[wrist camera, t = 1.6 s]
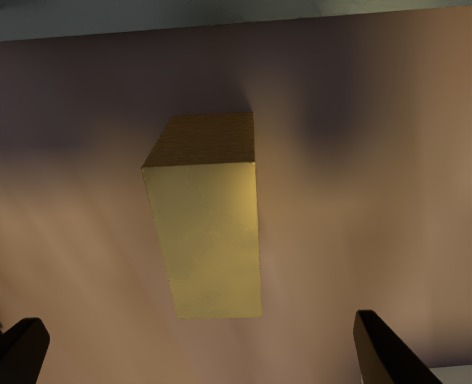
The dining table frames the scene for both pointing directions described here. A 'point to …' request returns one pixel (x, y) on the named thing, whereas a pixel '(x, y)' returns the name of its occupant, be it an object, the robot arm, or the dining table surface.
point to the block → (207, 214)
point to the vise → (174, 13)
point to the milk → (452, 374)
